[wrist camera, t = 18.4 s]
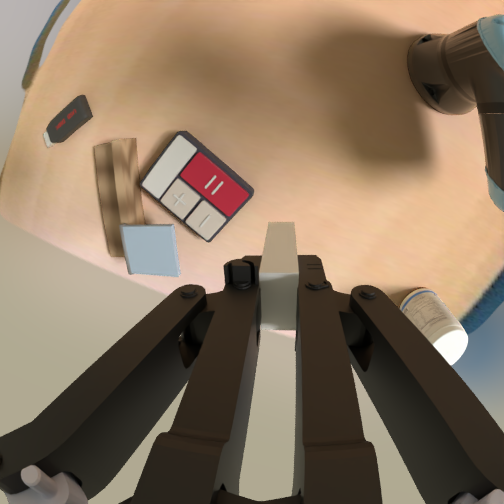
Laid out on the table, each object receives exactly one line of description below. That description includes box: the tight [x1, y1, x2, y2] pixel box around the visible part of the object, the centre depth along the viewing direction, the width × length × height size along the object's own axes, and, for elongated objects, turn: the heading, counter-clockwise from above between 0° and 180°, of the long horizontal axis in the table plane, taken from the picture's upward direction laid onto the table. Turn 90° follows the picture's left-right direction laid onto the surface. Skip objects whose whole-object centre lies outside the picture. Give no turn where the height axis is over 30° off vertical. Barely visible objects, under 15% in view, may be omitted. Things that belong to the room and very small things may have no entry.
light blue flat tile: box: [119, 223, 181, 277], centre depth 42 cm, size 8×10×1 cm
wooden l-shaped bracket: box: [94, 138, 145, 257], centre depth 44 cm, size 21×8×6 cm, turn 2°
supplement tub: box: [399, 288, 468, 365], centre depth 43 cm, size 10×10×15 cm
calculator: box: [140, 131, 254, 242], centre depth 43 cm, size 11×4×15 cm
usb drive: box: [43, 95, 93, 147], centre depth 40 cm, size 5×12×3 cm, turn 113°
